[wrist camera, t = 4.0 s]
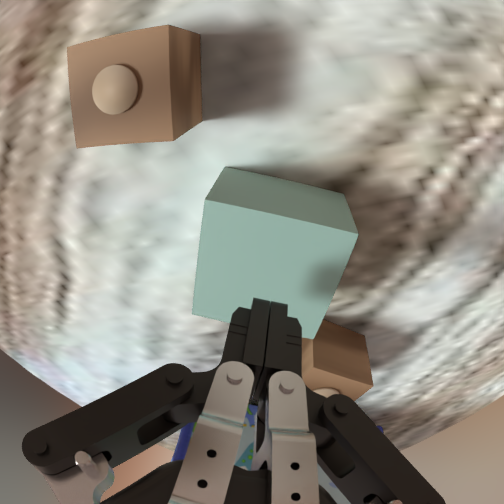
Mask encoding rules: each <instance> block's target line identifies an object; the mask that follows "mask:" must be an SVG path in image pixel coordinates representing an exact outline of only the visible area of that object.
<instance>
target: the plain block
mask: <svg viewBox="0 0 504 504" xmlns="http://www.w3.org/2000/svg"><path fill="white" fill-rule="evenodd" d="M358 235H359V234H358V231H357V228H356V225H355V222H354V220H353V217H352V214H351V212H350V209H349V206H348V204H347V201H346V198H345V196H344V194H342V193H338V192H334V191H330V190H326V189H322V188H318V187H314V186H310V185H306V184H302V183H298V182H294V181H289V180H285V179H281V178H276V177H272V176H267V175H263V174H258V173H253V172H248V171H244V170H239V169H234V168H229V167H224V169H223V171H222V172H221V174H220V175H219V177H218V179H217V180H216V182H215V184H214V185H213V187H212V188H211V190H210V192H209V193H208V195H207V197H206V198H205V202H204V210H203V218H202V226H201V234H200V242H199V251H198V259H197V268H196V278H195V287H194V297H193V308H192V314H193V315H197V316H202V317H206V318H210V319H215V320H219V321H223V322H228V323H230V321H231V317H232V314H233V313H234V311H235V310H236V309H237V308H238V307H243V308H248V309H251V305H252V301H253V297H254V298H259V299H264V300H269V301H270V302H271V301H274V302H279V303H284V304H288V317H293V318H297V319H298V321H299V323H300V325H301V327H302V337H303V338H309V339H314V337H315V335H316V333H317V331H318V329H319V327H320V324H321V322H322V320H323V318H324V316H325V314H326V311H327V309H328V307H329V305H330V302H331V300H332V298H333V296H334V293H335V291H336V289H337V286H338V284H339V282H340V279H341V277H342V275H343V272H344V270H345V267H346V265H347V263H348V260H349V258H350V255H351V253H352V250H353V248H354V245H355V243H356V240H357V238H358Z"/></svg>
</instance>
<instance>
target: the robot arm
mask: <svg viewBox="0 0 504 504" xmlns="http://www.w3.org/2000/svg"><path fill="white" fill-rule="evenodd" d="M253 393H254V394H253ZM252 395H253V399H254V400H259V403H258V410H257V412H256V415H255V428H254V452H253V460H252V464H251V470H250V471H249V470H245V469H243V468H240V467H238V466H236V465H234V462H235V459H236V455H237V451H238V447H239V443H240V439H241V435H242V431H243V423H244V419H245V415H246V411H247V407H248V403H249V399H251V398H252ZM194 422H197V424H196V427H195V430H194V432H193V435H192V438H191V441H190V444H189V447H188V450H187V452H186V455H185V458H184V459H182V460H176V461H172V462H169V463H166V464H164V465H161V466H159V467H158V468H156V469H155V470H153V471H152V472H150V473H149V474H147V475H146V476H144V477H142V478H141V479H139V480H138V481H136V482H134V483H133V484H131V485H130V486H128V487H126V488H125V489H123V490H121V491H120V492H118V493H116V494H115V495H113V496H111V497H109V498H108V499H106V500H104V501H102V502H101V503H100V499H101V496H102V494H103V493H104V492H105V491H106V490H107V489H108V488H110V487H111V486H112V484H113V482H114V472H113V469H112V468H114V467H116V466H118V465H120V464H121V463H123V462H125V461H127V460H128V459H130V458H132V457H134V456H136V455H138V454H139V453H141V452H143V451H144V450H146V449H148V448H150V447H151V446H153V445H155V444H156V443H158V442H160V441H161V440H163V439H165V438H166V437H168V436H170V435H171V434H173V433H175V432H176V431H178V430H179V429H181V428H183V427H184V426H186V425H187V424H188V423H194ZM22 451H23V454H24V456H25V457H26V459H27V460H28V461H29V462H30V463H31V464H33V465H34V467H35V468H36V469H37V470H38V471H39V472H40V473H41V474H43V475H44V477H45V479H46V480H47V482H48V484H49V486H50V488H51V489H52V491H53V493H54V494H55V496H56V498H57V499H58V501H59V502H60V504H337V503H336V502H335V500H334V499H333V498H332V497H331V495H330V494H329V493H328V492H327V491H326V490H325V489H324V488H323V487H322V486H321V485H319V484H318V469H317V464H318V465H319V466H320V467H321V469H322V470H323V471H324V472H325V473H326V475H327V476H328V477H329V478H330V479H331V481H332V482H333V483H334V484H335V485H336V487H337V488H338V489H339V490H340V491H341V493H342V494H343V495H344V496H345V497H346V498H347V500H348V501H349V502H350V503H351V504H446V503H445V501H444V499H443V498H442V497H441V495H439V493H438V492H437V491H436V490H435V489H434V488H433V487H432V486H431V485H430V484H429V483H428V482H427V481H426V479H425V478H424V477H423V476H422V475H421V474H420V473H419V472H418V471H417V470H416V469H415V468H414V467H413V466H412V464H411V463H410V462H409V461H408V460H407V459H406V458H405V457H404V456H403V455H402V454H401V453H400V451H399V450H398V449H397V448H396V447H395V446H394V445H393V444H392V443H391V442H390V440H389V439H388V438H387V437H386V436H385V435H384V434H383V433H382V432H381V431H380V430H379V428H378V427H377V426H376V425H375V424H374V423H373V422H372V421H371V420H370V418H369V417H368V416H367V415H366V414H365V413H364V412H363V411H362V410H361V408H360V407H359V406H358V405H357V404H356V403H355V402H354V401H353V400H352V399H351V398H350V397H348V396H346V395H343V394H333V395H331V396H329V397H328V398H327V397H325V396H322V395H320V394H318V393H316V392H314V391H312V390H311V389H309V388H308V387H307V386H306V385H305V383H304V381H303V379H302V327H301V325H300V323H299V321H298V319H297V318H293V317H288V304H284V303H279V302H274V301H271V302H270V301H269V300H264V299H259V298H254V297H253V301H252V305H251V309H248V308H243V307H238V308H237V309H236V310H235V311H234V313H233V314H232V317H231V321H230V326H229V330H228V334H227V338H226V343H225V347H224V351H223V355H222V359H221V362H220V364H219V365H218V366H217V367H216V368H214V369H213V370H210V371H207V372H194V373H192V372H191V370H190V369H189V368H187V367H186V366H184V365H181V364H177V363H171V364H166V365H164V366H162V367H160V368H158V369H156V370H154V371H153V372H151V373H149V374H147V375H145V376H143V377H141V378H139V379H137V380H135V381H133V382H131V383H129V384H128V385H126V386H124V387H122V388H120V389H118V390H116V391H114V392H112V393H110V394H108V395H106V396H104V397H102V398H100V399H98V400H96V401H94V402H91V403H89V404H87V405H85V406H83V407H81V408H79V409H77V410H75V411H73V412H71V413H69V414H66V415H64V416H62V417H60V418H58V419H56V420H54V421H51V422H49V423H47V424H45V425H43V426H40V427H38V428H36V429H34V430H32V431H30V432H29V433H27V434H26V435H25V437H24V439H23V442H22Z"/></svg>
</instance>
